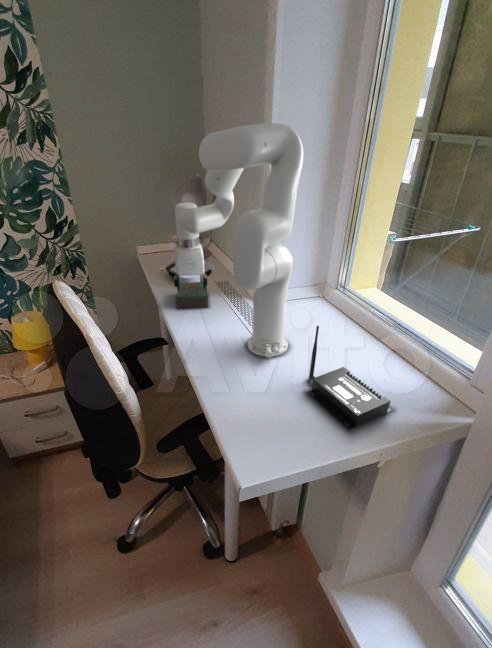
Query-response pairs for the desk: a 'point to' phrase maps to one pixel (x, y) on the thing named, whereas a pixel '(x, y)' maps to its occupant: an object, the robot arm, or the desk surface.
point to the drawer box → (192, 303)
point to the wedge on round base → (188, 278)
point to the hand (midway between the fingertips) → (191, 287)
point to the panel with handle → (192, 291)
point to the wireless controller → (345, 395)
